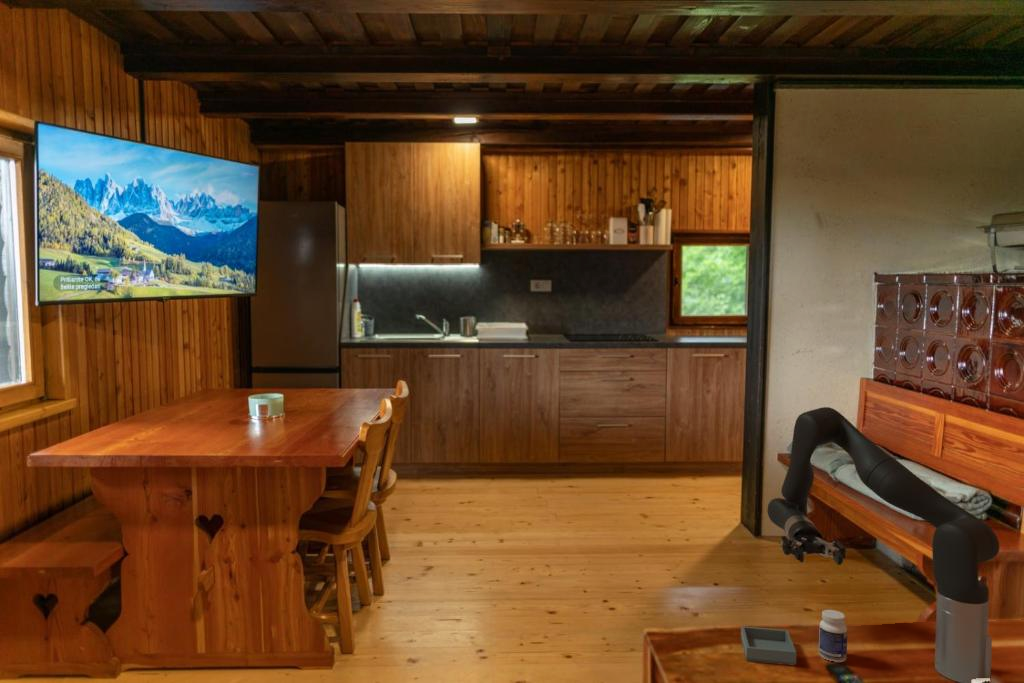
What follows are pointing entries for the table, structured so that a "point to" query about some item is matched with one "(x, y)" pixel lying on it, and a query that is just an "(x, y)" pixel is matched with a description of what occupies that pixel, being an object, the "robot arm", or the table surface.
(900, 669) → the table surface
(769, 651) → the tray
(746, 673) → the table surface
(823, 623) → the pill bottle
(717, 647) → the table surface
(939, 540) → the robot arm
